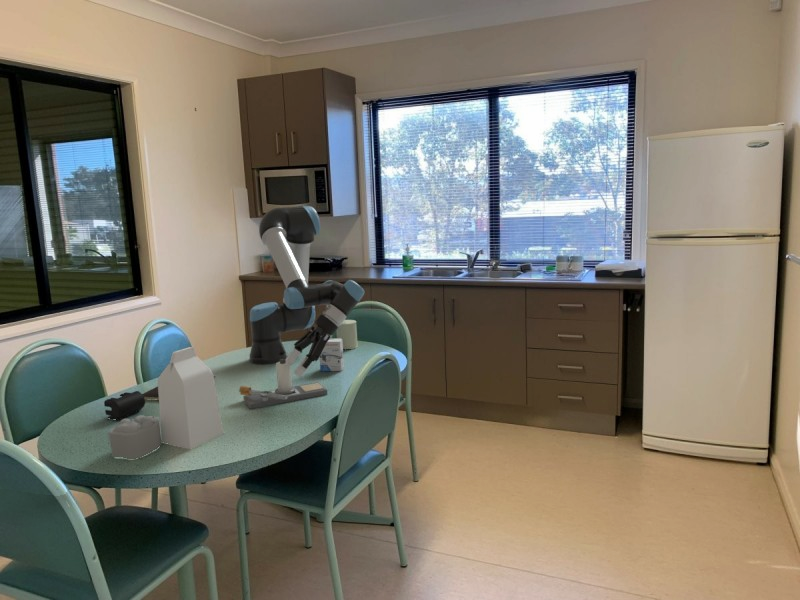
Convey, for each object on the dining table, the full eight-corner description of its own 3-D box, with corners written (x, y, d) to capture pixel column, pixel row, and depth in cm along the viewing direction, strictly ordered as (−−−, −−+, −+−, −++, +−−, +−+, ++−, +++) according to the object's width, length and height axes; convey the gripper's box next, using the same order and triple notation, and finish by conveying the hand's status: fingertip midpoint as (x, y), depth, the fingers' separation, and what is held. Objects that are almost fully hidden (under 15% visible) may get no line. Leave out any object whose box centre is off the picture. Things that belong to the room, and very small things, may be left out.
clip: (243, 392, 200) (243, 384, 200) (289, 399, 190) (289, 392, 190) (237, 395, 198) (236, 387, 197) (283, 403, 188) (282, 395, 187)
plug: (273, 396, 202) (270, 358, 199) (293, 392, 204) (289, 355, 202) (278, 402, 195) (274, 363, 193) (298, 398, 198) (295, 360, 196)
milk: (190, 450, 161) (179, 357, 156) (162, 443, 166) (150, 353, 162) (223, 433, 171) (214, 346, 167) (195, 427, 177) (185, 343, 172)
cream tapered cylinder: (334, 350, 259) (332, 323, 257) (340, 344, 268) (338, 318, 266) (355, 350, 257) (353, 322, 255) (360, 344, 266) (358, 318, 264)
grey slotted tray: (243, 400, 199) (243, 392, 199) (318, 386, 210) (317, 378, 209) (249, 409, 190) (249, 400, 190) (327, 394, 201) (326, 386, 200)
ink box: (319, 371, 227) (317, 342, 225) (322, 368, 232) (320, 338, 230) (342, 371, 227) (339, 341, 225) (344, 367, 232) (342, 338, 229)
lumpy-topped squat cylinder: (106, 457, 159) (102, 427, 157) (141, 438, 171) (137, 409, 169) (137, 461, 155) (133, 430, 154) (171, 441, 167) (167, 412, 166)
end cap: (121, 422, 185) (118, 401, 183) (105, 419, 187) (102, 399, 186) (146, 411, 193) (144, 391, 192) (131, 409, 196) (128, 389, 195)
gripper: (311, 308, 212) (273, 355, 209) (334, 319, 190) (292, 372, 186) (326, 320, 216) (289, 367, 212) (351, 333, 193) (310, 385, 190)
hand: (290, 370), depth 199 cm, fingers open, 13 cm apart
